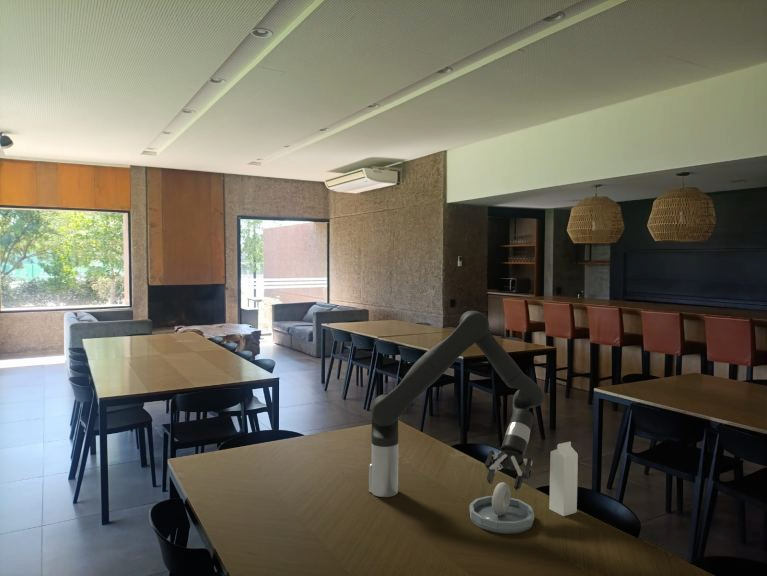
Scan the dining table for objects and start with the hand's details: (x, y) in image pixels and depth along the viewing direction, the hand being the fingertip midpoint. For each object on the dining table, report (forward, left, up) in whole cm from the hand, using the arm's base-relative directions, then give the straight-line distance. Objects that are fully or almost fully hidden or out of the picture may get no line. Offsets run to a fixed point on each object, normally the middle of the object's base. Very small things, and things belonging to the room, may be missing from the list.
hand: (502, 485), depth 172 cm
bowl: (0, -1, -10) cm, 10 cm away
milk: (+14, +16, -10) cm, 24 cm away
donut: (0, -1, -9) cm, 9 cm away
